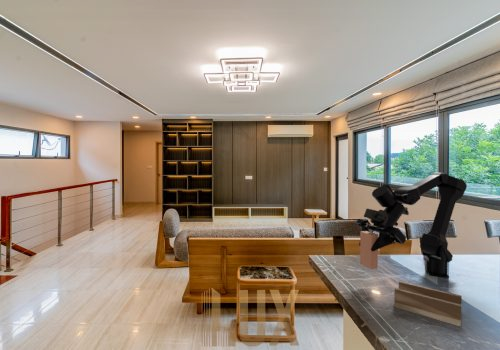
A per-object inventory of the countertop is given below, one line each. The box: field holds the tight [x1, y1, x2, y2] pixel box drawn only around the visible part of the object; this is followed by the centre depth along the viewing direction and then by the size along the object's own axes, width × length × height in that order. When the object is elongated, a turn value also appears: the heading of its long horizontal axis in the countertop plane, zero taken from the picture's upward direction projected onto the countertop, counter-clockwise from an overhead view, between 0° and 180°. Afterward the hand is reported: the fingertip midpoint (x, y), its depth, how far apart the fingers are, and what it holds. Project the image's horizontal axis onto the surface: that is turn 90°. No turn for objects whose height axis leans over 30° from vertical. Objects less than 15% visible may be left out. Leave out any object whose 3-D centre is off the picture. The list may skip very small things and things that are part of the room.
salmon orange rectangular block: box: [359, 230, 379, 270], centre depth 95 cm, size 3×6×12 cm, turn 18°
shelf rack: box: [393, 280, 463, 327], centre depth 79 cm, size 10×16×5 cm, turn 51°
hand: (365, 248), depth 94 cm, fingers closed on salmon orange rectangular block, 5 cm apart
